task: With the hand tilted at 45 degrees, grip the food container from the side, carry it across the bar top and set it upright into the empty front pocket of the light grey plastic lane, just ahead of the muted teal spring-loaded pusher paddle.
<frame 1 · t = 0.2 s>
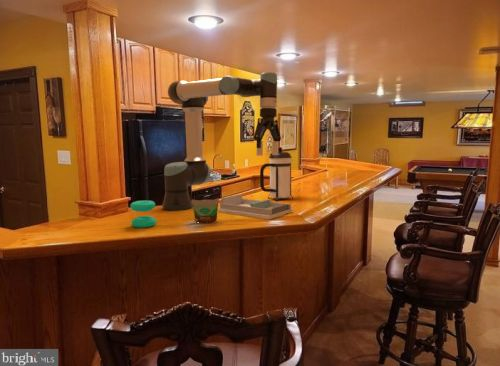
hand: (267, 155, 169), 27 cm above the countertop, tool pointing down, fingers open, 13 cm apart
pusher paddle: (256, 204, 178), point 4 cm above the countertop, slide at 0.0 cm
coffee press: (278, 199, 213), on the countertop
food container: (207, 222, 158), on the countertop
pusher lane: (255, 211, 179), on the countertop
donuts: (144, 226, 154), on the countertop
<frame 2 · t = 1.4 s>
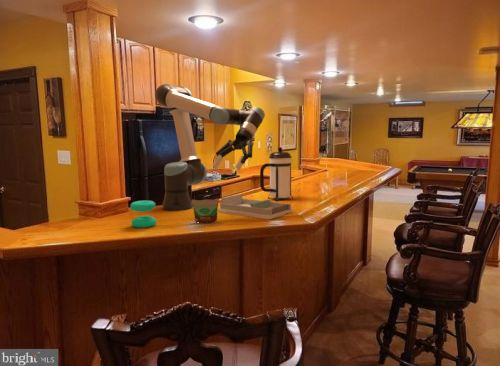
hand: (225, 167, 165), 22 cm above the countertop, tool tilted 45°, fingers open, 13 cm apart
nothing on the countertop moved.
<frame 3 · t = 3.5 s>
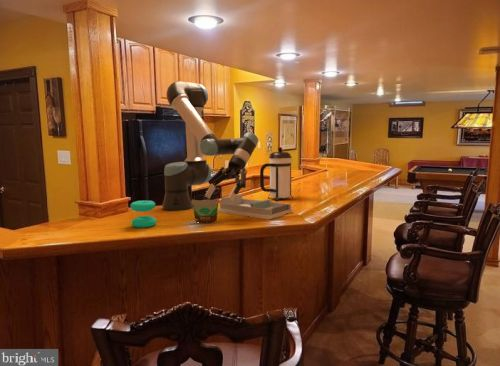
hand: (218, 198, 160), 10 cm above the countertop, tool tilted 45°, fingers open, 13 cm apart
nothing on the countertop moved.
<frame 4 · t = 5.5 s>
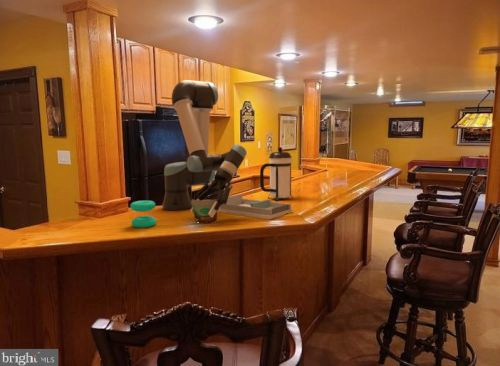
hand: (201, 214, 155), 4 cm above the countertop, tool tilted 45°, fingers open, 10 cm apart
food container: (207, 222, 158), on the countertop, touching gripper
everything else where it was.
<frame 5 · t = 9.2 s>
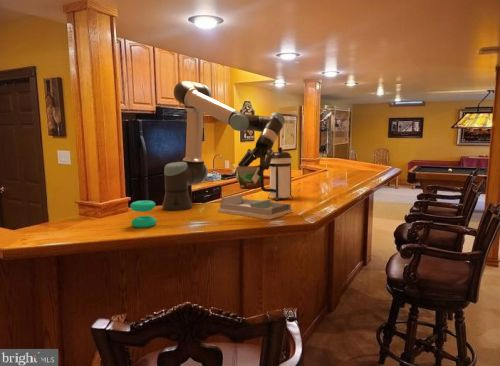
hand: (245, 180, 160), 17 cm above the countertop, tool tilted 40°, fingers closed on food container, 8 cm apart
food container: (252, 188, 163), point 13 cm above the countertop, touching gripper
everything else where it was.
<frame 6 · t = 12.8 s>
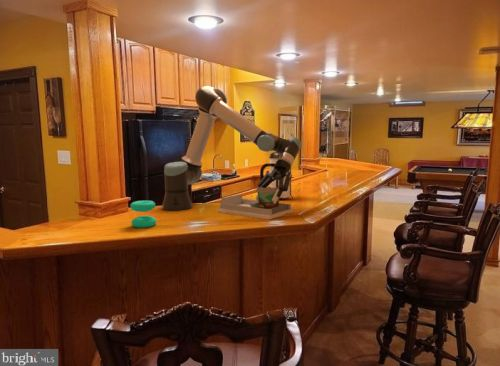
hand: (265, 201, 170), 7 cm above the countertop, tool tilted 45°, fingers closed on food container, 8 cm apart
pusher paddle: (256, 204, 178), point 4 cm above the countertop, slide at 0.0 cm, touching gripper
food container: (271, 208, 173), point 3 cm above the countertop, touching gripper
everything else where it was.
when the fingers open (7 cm above the countertop, at t = 12.9 s): food container drops 1 cm, resting on pusher lane.
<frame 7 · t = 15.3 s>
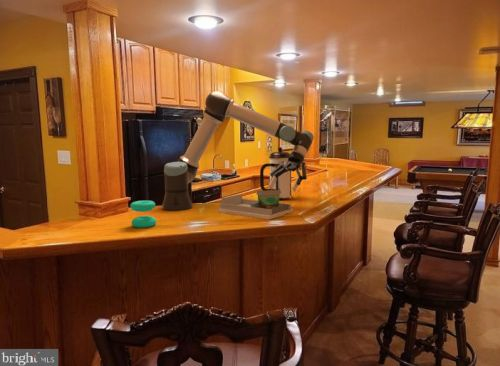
hand: (281, 188, 180), 11 cm above the countertop, tool tilted 45°, fingers open, 13 cm apart
pusher paddle: (256, 204, 178), point 4 cm above the countertop, slide at 0.0 cm
food container: (271, 211, 173), point 1 cm above the countertop, touching pusher lane
everything else where it was.
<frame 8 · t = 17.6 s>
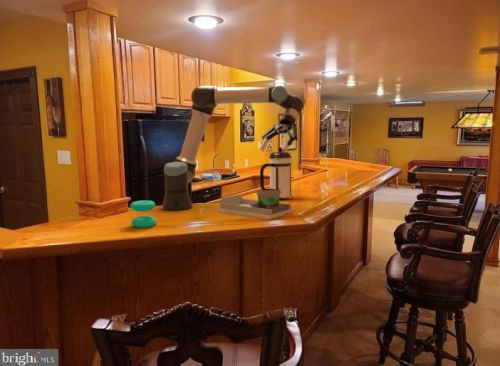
hand: (272, 149, 180), 30 cm above the countertop, tool tilted 45°, fingers open, 13 cm apart
nothing on the countertop moved.
at the end: food container 0.8 cm from the target spot on the pusher lane, point 1.3 cm above the pusher lane's base; food container tilted 0°; pusher paddle slide at 0.0 cm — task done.
